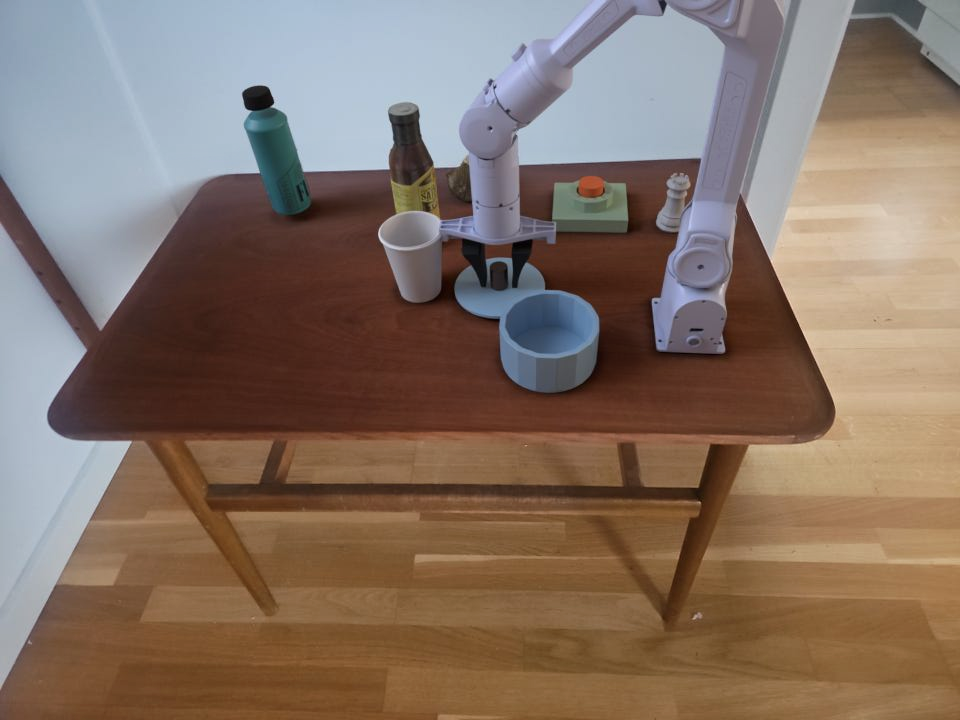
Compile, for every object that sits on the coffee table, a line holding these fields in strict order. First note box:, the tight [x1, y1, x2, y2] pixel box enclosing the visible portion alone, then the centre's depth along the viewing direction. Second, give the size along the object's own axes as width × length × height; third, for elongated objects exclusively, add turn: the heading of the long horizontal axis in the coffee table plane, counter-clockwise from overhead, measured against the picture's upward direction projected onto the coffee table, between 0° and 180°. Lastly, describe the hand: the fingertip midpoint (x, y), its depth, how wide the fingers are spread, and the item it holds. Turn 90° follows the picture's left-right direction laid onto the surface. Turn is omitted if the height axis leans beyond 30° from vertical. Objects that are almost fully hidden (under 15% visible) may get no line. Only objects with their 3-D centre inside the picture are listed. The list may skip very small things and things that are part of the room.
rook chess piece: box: [655, 172, 692, 234], centre depth 93 cm, size 4×4×8 cm
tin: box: [498, 289, 600, 394], centre depth 77 cm, size 11×11×6 cm
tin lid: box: [453, 257, 546, 320], centre depth 86 cm, size 12×12×4 cm
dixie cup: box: [377, 211, 443, 304], centre depth 85 cm, size 8×8×10 cm
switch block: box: [551, 179, 629, 234], centre depth 98 cm, size 10×11×4 cm
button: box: [578, 175, 604, 198], centre depth 96 cm, size 4×4×2 cm
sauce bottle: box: [387, 101, 441, 220], centre depth 90 cm, size 6×6×20 cm
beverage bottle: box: [241, 84, 312, 216], centre depth 97 cm, size 6×7×20 cm
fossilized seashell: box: [445, 154, 472, 202], centre depth 103 cm, size 8×7×10 cm
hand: (499, 282), depth 87 cm, fingers open, 4 cm apart
